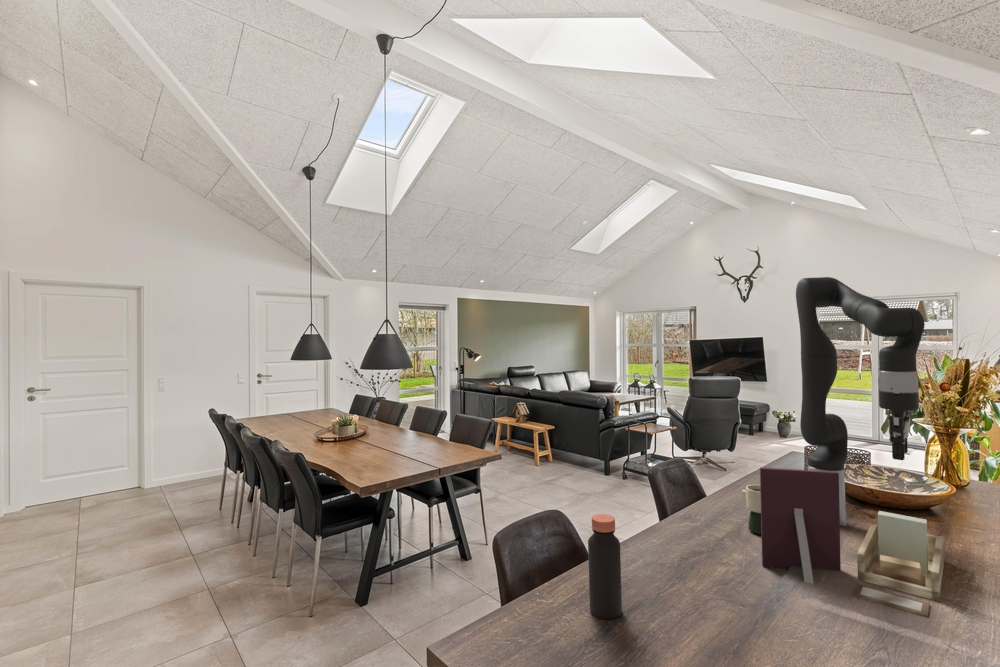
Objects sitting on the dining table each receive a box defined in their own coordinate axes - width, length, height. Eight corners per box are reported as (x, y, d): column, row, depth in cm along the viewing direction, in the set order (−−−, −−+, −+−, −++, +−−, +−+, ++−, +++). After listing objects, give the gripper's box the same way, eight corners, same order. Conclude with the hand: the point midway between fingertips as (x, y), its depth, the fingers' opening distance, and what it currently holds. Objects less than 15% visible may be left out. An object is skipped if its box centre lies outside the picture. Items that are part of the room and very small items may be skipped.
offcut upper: (880, 570, 109) (880, 559, 109) (880, 565, 112) (880, 554, 112) (921, 579, 105) (920, 568, 105) (920, 574, 108) (919, 562, 108)
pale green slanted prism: (879, 562, 118) (877, 514, 118) (880, 558, 121) (879, 510, 121) (927, 574, 112) (925, 523, 112) (928, 569, 114) (926, 519, 114)
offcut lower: (872, 579, 111) (872, 568, 111) (874, 573, 113) (874, 562, 113) (924, 593, 104) (924, 581, 104) (925, 586, 107) (925, 575, 107)
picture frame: (839, 573, 116) (835, 470, 116) (854, 594, 107) (850, 482, 107) (762, 564, 121) (759, 466, 122) (770, 584, 112) (766, 477, 112)
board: (854, 601, 104) (853, 593, 104) (858, 590, 108) (858, 583, 108) (927, 623, 96) (927, 615, 96) (929, 610, 100) (929, 602, 100)
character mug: (786, 535, 138) (784, 490, 138) (771, 541, 134) (770, 495, 134) (750, 523, 147) (749, 481, 147) (735, 528, 144) (734, 485, 144)
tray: (857, 584, 111) (857, 553, 111) (872, 549, 128) (871, 522, 128) (939, 607, 101) (938, 573, 101) (944, 566, 118) (943, 537, 118)
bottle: (621, 622, 99) (618, 525, 99) (588, 617, 101) (585, 522, 101) (622, 604, 105) (619, 513, 105) (591, 600, 107) (588, 511, 107)
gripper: (882, 386, 124) (884, 448, 124) (874, 391, 114) (876, 459, 114) (920, 387, 119) (922, 452, 119) (916, 393, 109) (918, 464, 109)
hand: (900, 455), depth 116 cm, fingers open, 8 cm apart
